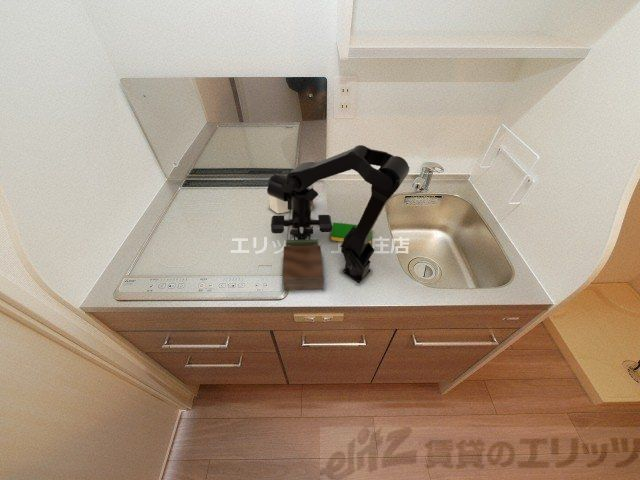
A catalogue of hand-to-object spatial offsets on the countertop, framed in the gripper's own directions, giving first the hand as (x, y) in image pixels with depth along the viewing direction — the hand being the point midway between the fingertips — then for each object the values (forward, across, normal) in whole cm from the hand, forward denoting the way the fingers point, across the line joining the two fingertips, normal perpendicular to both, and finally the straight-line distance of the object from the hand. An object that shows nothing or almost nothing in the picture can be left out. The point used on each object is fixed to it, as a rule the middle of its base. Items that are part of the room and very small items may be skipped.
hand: (301, 242), depth 90 cm
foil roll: (+2, -2, -21) cm, 21 cm away
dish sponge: (+2, -18, -4) cm, 18 cm away
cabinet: (+2, 0, +12) cm, 12 cm away
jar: (+2, +8, -22) cm, 23 cm away
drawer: (+1, 0, +5) cm, 5 cm away
